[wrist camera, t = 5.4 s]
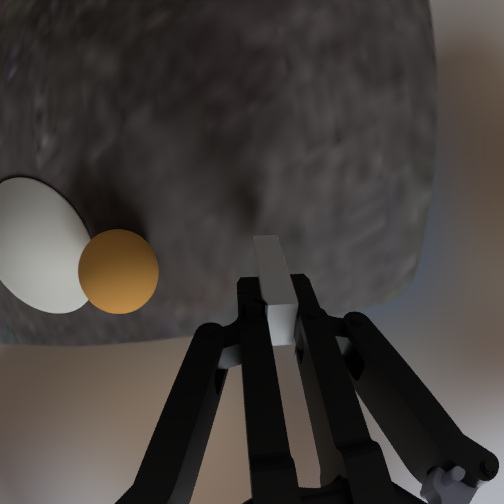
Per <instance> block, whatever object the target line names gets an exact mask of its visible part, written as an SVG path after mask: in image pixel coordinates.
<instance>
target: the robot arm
mask: <svg viewBox="0 0 504 504" xmlns="http://www.w3.org/2000/svg"><path fill="white" fill-rule="evenodd" d="M253 256H254V277H241V278H240V279H239V281H238V282H237V298H238V318H237V320H236V321H235V322H233V323H232V324H230V325H227V326H224V327H222V326H221V325H220V324H217V323H205V324H202V325H201V326H199V327H198V329H197V330H196V332H195V334H194V337H193V339H192V341H191V344H190V346H189V348H188V351H187V353H186V355H185V358H184V360H183V363H182V365H181V367H180V370H179V372H178V374H177V377H176V379H175V382H174V384H173V386H172V389H171V392H170V394H169V396H168V399H167V401H166V403H165V406H164V408H163V411H162V413H161V416H160V418H159V421H158V423H157V426H156V428H155V431H154V433H153V435H152V438H151V440H150V443H149V446H148V448H147V450H146V453H145V456H144V458H143V461H142V463H141V466H140V468H139V471H138V473H137V476H136V478H135V481H134V484H133V485H132V486H131V488H129V489H128V490H127V492H126V493H125V494H124V495H123V496H122V497H121V498H120V499H119V500H118V501H117V502H116V503H115V504H189V503H190V500H191V497H192V493H193V490H194V487H195V483H196V480H197V477H198V473H199V470H200V466H201V463H202V460H203V456H204V453H205V449H206V446H207V442H208V439H209V435H210V432H211V429H212V425H213V421H214V418H215V415H216V411H217V408H218V404H219V401H220V397H221V394H222V390H223V387H224V383H225V380H226V376H227V373H228V368H230V367H234V366H237V365H240V364H241V366H242V380H243V394H244V407H245V421H246V434H247V445H248V458H249V470H250V482H251V494H252V498H250V499H249V500H247V501H246V502H244V503H243V504H427V503H426V502H424V501H422V500H421V499H419V498H417V497H416V496H414V495H412V494H411V493H409V492H408V491H406V490H405V489H403V488H401V487H400V486H398V485H397V484H395V483H394V482H392V481H391V478H390V475H389V471H388V468H387V465H386V462H385V459H384V456H383V452H382V449H381V447H380V445H379V444H378V443H377V442H375V441H373V440H372V439H371V437H370V434H369V431H368V428H367V425H366V422H365V419H364V416H363V413H362V410H361V407H360V404H359V401H358V398H357V395H356V392H357V394H358V395H359V396H360V398H361V399H362V401H363V403H364V404H365V405H366V407H367V408H368V410H369V412H370V413H371V414H372V416H373V418H374V419H375V421H376V422H377V423H378V425H379V427H380V428H381V430H382V431H383V433H384V434H385V436H386V437H387V439H388V440H389V442H390V443H391V445H392V446H393V448H394V449H395V451H396V452H397V454H398V455H399V457H400V458H401V460H402V461H403V463H404V464H405V466H406V467H407V469H408V470H409V471H410V473H411V474H412V475H413V476H414V477H415V478H416V479H417V480H418V481H419V482H420V483H422V489H421V491H420V495H421V497H422V498H424V499H426V500H427V501H428V504H469V503H470V501H471V500H472V498H473V496H474V494H475V493H476V491H477V489H478V488H479V487H480V486H482V485H483V484H485V483H487V482H488V481H490V480H492V479H493V478H494V477H495V476H496V474H497V473H498V469H499V461H498V459H497V457H496V456H495V455H494V454H493V453H492V452H490V451H488V450H487V449H485V448H484V447H482V446H481V445H479V444H478V443H476V442H474V441H473V440H472V439H470V438H468V437H467V436H465V435H464V434H463V433H462V432H461V431H460V429H459V428H458V427H457V425H456V424H455V423H454V421H453V420H452V419H451V417H449V415H448V414H447V412H446V411H445V410H444V408H443V407H442V406H441V405H440V403H439V402H438V401H437V400H436V398H435V397H434V396H433V395H432V393H431V392H430V391H429V390H428V388H427V387H426V386H425V385H424V383H423V382H422V381H421V380H420V379H419V377H418V376H417V375H416V374H415V372H414V371H413V370H412V369H411V368H410V366H409V365H408V364H407V363H406V362H405V360H404V359H403V358H402V357H401V356H400V354H399V353H398V352H397V351H396V350H395V348H394V347H393V346H392V345H391V344H390V343H389V341H388V340H387V339H386V338H385V337H384V336H383V334H382V333H381V332H380V331H379V330H378V329H377V327H376V326H375V325H374V324H373V323H372V322H371V321H370V319H369V318H368V317H367V316H366V315H364V314H362V313H360V312H349V313H347V314H346V315H345V316H344V318H337V317H332V316H329V315H327V313H326V312H325V310H323V309H322V308H320V306H319V304H318V301H317V298H316V296H315V293H314V291H313V288H312V286H311V283H310V280H309V278H308V277H306V276H305V275H304V274H289V271H288V268H287V264H286V261H285V258H284V255H283V252H282V248H281V245H280V242H279V239H278V236H277V235H267V236H253ZM294 338H295V343H296V347H295V354H294V362H295V361H296V358H297V363H298V367H299V371H300V376H301V380H302V385H303V389H304V394H305V398H306V402H307V406H308V412H309V417H310V421H311V425H312V430H313V435H314V440H315V444H316V449H317V454H318V459H319V464H320V469H321V470H320V471H321V473H320V484H321V488H302V487H299V486H298V481H297V474H296V468H295V463H294V460H293V458H292V457H291V454H290V449H289V443H288V437H287V431H286V425H285V419H284V413H283V407H282V401H281V395H280V389H279V384H278V377H277V371H276V365H275V359H274V354H273V347H272V346H276V345H287V344H293V342H294ZM355 391H356V392H355Z"/></svg>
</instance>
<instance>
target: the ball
mask: <svg viewBox="0 0 504 504" xmlns="http://www.w3.org/2000/svg"><path fill="white" fill-rule="evenodd" d="M158 274H159V271H158V263H157V259H156V256H155V254H154V252H153V250H152V248H151V247H150V245H149V244H148V243H147V242H146V241H145V240H144V239H143V238H142V237H141V236H139V235H137V234H136V233H133V232H131V231H128V230H123V229H113V230H108V231H104V232H102V233H100V234H98V235H97V236H95V237H94V238H93V239H91V240H90V241H89V243H88V244H87V245H86V246H85V248H84V249H83V252H82V254H81V256H80V259H79V264H78V278H79V283H80V285H81V288H82V290H83V292H84V294H85V295H86V297H87V298H88V299H89V301H90V302H91V303H92V304H94V305H95V306H96V307H98V308H99V309H101V310H103V311H106V312H109V313H114V314H122V313H128V312H132V311H134V310H136V309H138V308H140V307H141V306H143V305H144V304H145V303H146V302H147V301H148V300H149V298H150V297H151V296H152V294H153V292H154V291H155V288H156V285H157V281H158Z"/></svg>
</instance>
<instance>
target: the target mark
mask: <svg viewBox="0 0 504 504" xmlns="http://www.w3.org/2000/svg"><path fill="white" fill-rule="evenodd" d="M90 240H91V237H90V235H89V233H88V231H87V229H86V227H85V225H84V223H83V222H82V220H81V218H80V217H79V215H78V214H77V212H76V211H75V210H74V208H73V207H72V206H71V205H70V204H69V203H68V201H67V200H66V199H64V198H63V197H62V196H61V195H60V194H59V193H58V192H56V191H55V190H54V189H52V188H51V187H49V186H48V185H46V184H44V183H42V182H40V181H37V180H35V179H30V178H23V177H17V178H11V179H8V180H6V181H4V182H2V183H0V280H1V281H2V283H3V284H4V285H5V286H6V287H7V288H8V289H9V290H10V291H11V292H12V293H13V294H14V295H15V296H16V297H18V298H19V299H20V300H22V301H23V302H25V303H27V304H28V305H30V306H32V307H34V308H36V309H39V310H42V311H45V312H49V313H67V312H71V311H74V310H76V309H78V308H80V307H81V306H82V305H84V304H85V303H86V302H87V300H88V298H87V297H86V295H85V294H84V292H83V290H82V288H81V285H80V283H79V278H78V264H79V259H80V256H81V254H82V252H83V249H84V248H85V246H86V245H87V244H88V243H89V241H90Z"/></svg>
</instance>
